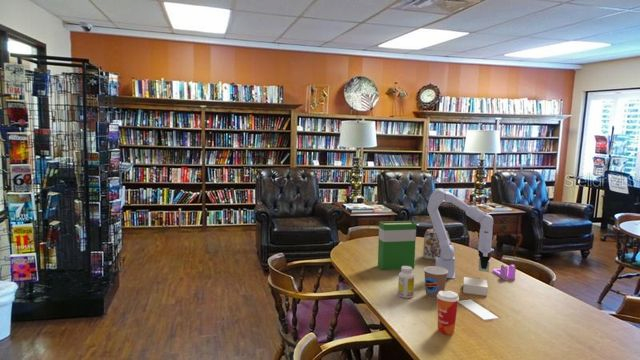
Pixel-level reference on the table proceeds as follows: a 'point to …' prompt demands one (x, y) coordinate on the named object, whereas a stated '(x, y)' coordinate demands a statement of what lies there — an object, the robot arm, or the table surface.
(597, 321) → the table surface
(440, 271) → the coffee cup
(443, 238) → the robot arm
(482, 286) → the painted block
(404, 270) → the supplement bottle
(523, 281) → the table surface
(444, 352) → the table surface
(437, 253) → the decorative jar
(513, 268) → the bracket
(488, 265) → the green cube
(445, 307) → the paper cup
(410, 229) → the green cereal box
